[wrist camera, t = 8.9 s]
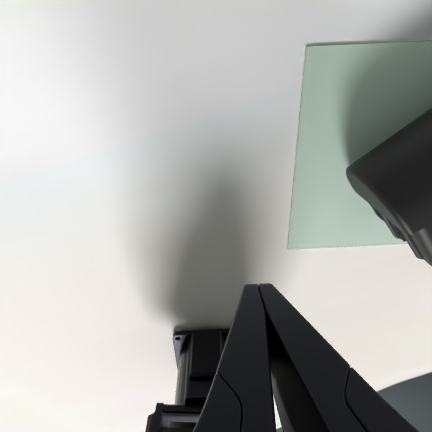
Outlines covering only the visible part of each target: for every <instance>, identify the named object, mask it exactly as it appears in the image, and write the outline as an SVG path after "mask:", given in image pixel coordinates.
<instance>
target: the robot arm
mask: <svg viewBox="0 0 432 432" xmlns="http://www.w3.org/2000/svg"><path fill="white" fill-rule="evenodd" d="M173 344H174V350H175V356H176V362H177V368H178V377H177V387H176V397H175V405H168V404H164V403H157V405H156V410H155V412H154V413H153V414H151V415H149V416H148V420H147V426H146V432H276V424H275V412H274V400H273V394H274V398H275V402H276V406H277V410H278V414H279V417H280V421H281V425H282V429H283V432H420V431H418V430H417V429H416V428H415V427H414V426H413V425H412V424H410V423H409V422H408V421H407V420H406V419H405V418H404V417H403V416H402V415H400V414H399V413H398V412H397V411H396V410H395V409H393V407H392V406H391V405H389V404H388V403H387V402H386V401H385V400H384V399H383V398H382V397H381V396H380V395H379V394H378V393H377V392H376V391H375V390H374V389H373V388H372V387H371V386H370V385H369V384H368V383H367V382H366V381H365V380H364V379H363V378H362V377H361V376H360V375H359V374H358V373H357V372H356V371H355V370H354V369H353V368H350V365H349V364H348V363H347V362H346V361H345V360H344V359H343V358H342V356H341V355H340V354H339V353H338V352H337V351H336V350H335V349H334V348H333V347H332V346H331V345H330V344H329V343H328V342H327V341H326V340H325V339H324V338H323V337H322V336H321V335H320V334H319V333H318V332H317V331H316V329H315V328H314V327H313V326H312V325H311V324H310V323H309V322H308V321H307V320H306V319H305V318H304V317H303V316H302V315H301V314H300V313H299V312H298V311H297V310H296V309H295V308H294V307H293V306H292V305H291V303H290V302H289V301H288V300H287V299H286V298H285V297H284V296H283V295H282V294H281V293H280V292H279V291H278V290H277V289H276V288H275V287H274V286H273V285H272V284H270V283H265V284H259V285H257V284H246V285H245V286H244V288H243V291H242V294H241V297H240V300H239V304H238V307H237V310H236V313H235V316H234V319H233V322H232V325H231V328H230V329H222V330H201V331H180V332H175V333H174V334H173Z"/></svg>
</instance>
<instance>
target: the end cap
mask: <svg viewBox="0 0 432 432" xmlns="http://www.w3.org/2000/svg"><path fill="white" fill-rule="evenodd" d="M346 176H347V179H348V181H349V183H350V185H351V186H352V188H353V189H354V191H355V192H356V193H357V194H358V195H359V196H361V197H362V198H363V199H364V200H365V201H367V202H368V203H369V204H370V206H371V207H372V209H373V210H374V212H375V213H376V215H377V216H378V217H379V218H380V219H382V220H383V221H384V222H385V223H386V225H387V226H388V228H389V229H390V231H391V232H392V234H393V236H394V237H395V238H398V239H401V240H403V241H404V242H405V241H407V243H408V244H409V246H410V247H411V249H412V251H413V252H414V254H415V255H416V257H417V258H419V259H424V260H425V261H426V262H427V263H428V264H430V265H431V266H432V108H431V109H429V110H428V111H426V112H425V113H424V114H422V115H421V116H419V117H418V118H416V119H415V120H414V121H412V122H411V123H409V124H408V125H406V126H405V127H404V128H402V129H401V130H399V131H398V132H397V133H395V134H394V135H392V136H391V137H389V138H388V139H387V140H385V141H384V142H382V143H381V144H379V145H378V146H377V147H375V148H374V149H372V150H371V151H370V152H368V153H367V154H365V155H364V156H362V157H361V158H360V159H358V160H357V161H355V162H354V163H352V164H351V165H350V166H348V167H347V169H346Z"/></svg>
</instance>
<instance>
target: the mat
mask: <svg viewBox="0 0 432 432" xmlns="http://www.w3.org/2000/svg"><path fill="white" fill-rule="evenodd" d="M431 108H432V41H411V42H390V43H369V44H348V45H327V46H306V50H305V61H304V72H303V83H302V93H301V104H300V115H299V126H298V137H297V148H296V158H295V169H294V180H293V191H292V202H291V212H290V223H289V234H288V245H287V249H288V250H290V249H311V248H332V247H353V246H374V245H395V244H408V243H407V241H405V242H404V241H403V240H401V239H398V238H395V237H394V236H393V234H392V232H391V231H390V229H389V228H388V226H387V225H386V223H385V222H384V221H383V220H382V219H380V218H379V217H378V216H377V215H376V213H375V212H374V210H373V209H372V207H371V206H370V204H369V203H368V202H367V201H365V200H364V199H363V198H362V197H361V196H359V195H358V194H357V193H356V192H355V191H354V189H353V188H352V186H351V185H350V183H349V181H348V179H347V176H346V169H347V167H348V166H350V165H351V164H352V163H354V162H355V161H357V160H358V159H360V158H361V157H362V156H364V155H365V154H367V153H368V152H370V151H371V150H372V149H374V148H375V147H377V146H378V145H379V144H381V143H382V142H384V141H385V140H387V139H388V138H389V137H391V136H392V135H394V134H395V133H397V132H398V131H399V130H401V129H402V128H404V127H405V126H406V125H408V124H409V123H411V122H412V121H414V120H415V119H416V118H418V117H419V116H421V115H422V114H424V113H425V112H426V111H428V110H429V109H431Z"/></svg>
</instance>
